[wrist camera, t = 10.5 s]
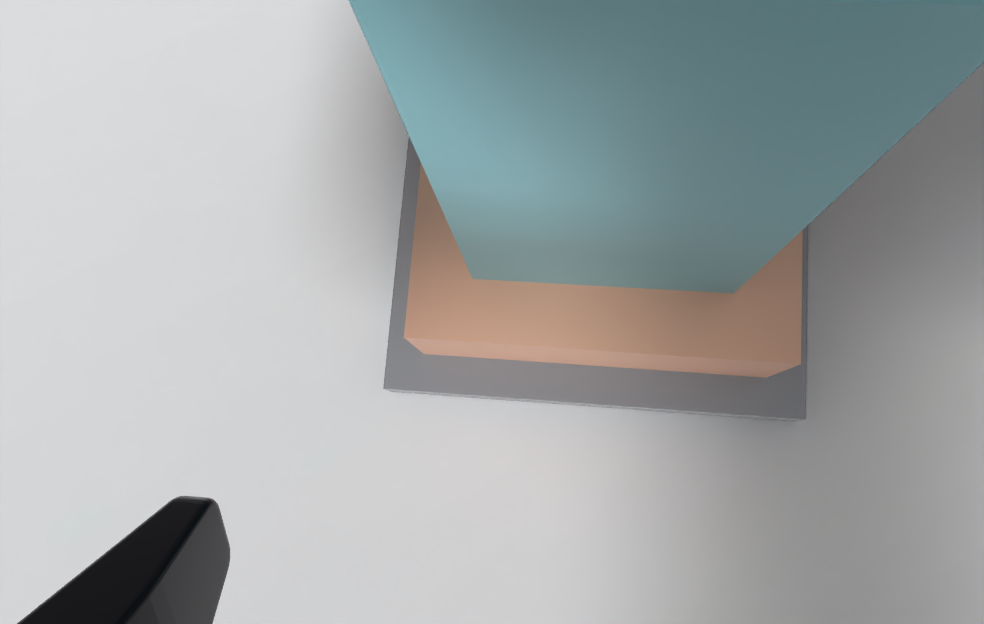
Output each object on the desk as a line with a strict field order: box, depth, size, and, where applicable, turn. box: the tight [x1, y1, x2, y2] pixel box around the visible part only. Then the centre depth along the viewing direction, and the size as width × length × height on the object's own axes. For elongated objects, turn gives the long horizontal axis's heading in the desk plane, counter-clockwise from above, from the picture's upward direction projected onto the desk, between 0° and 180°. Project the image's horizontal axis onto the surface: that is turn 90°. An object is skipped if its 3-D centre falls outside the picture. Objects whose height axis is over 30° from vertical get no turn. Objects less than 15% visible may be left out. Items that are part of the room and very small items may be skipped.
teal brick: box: [349, 0, 984, 293], centre depth 14 cm, size 6×6×12 cm
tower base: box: [383, 137, 808, 421], centre depth 21 cm, size 11×11×4 cm
